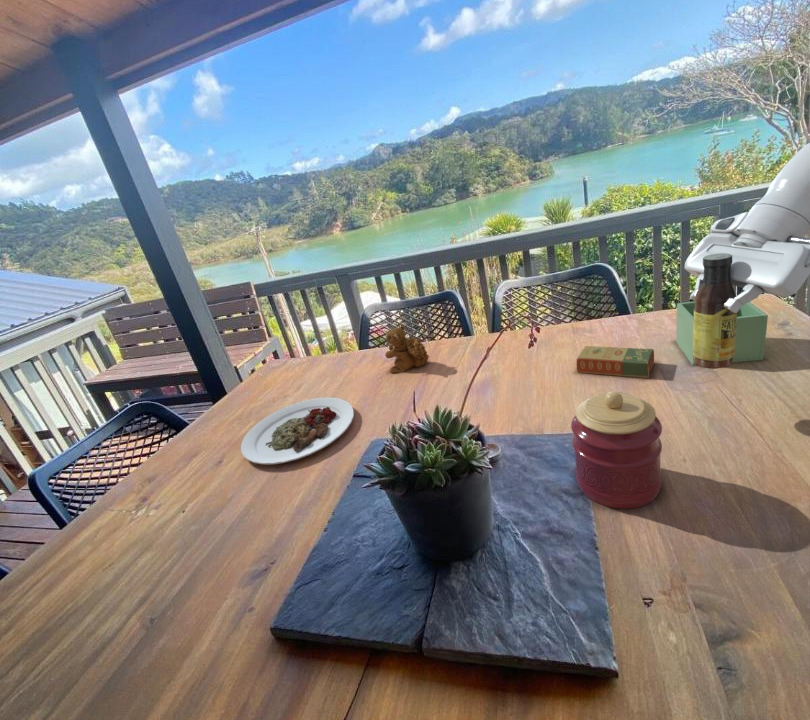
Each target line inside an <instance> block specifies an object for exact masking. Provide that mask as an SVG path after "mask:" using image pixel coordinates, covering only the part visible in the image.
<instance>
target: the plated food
mask: <svg viewBox="0 0 810 720" xmlns="http://www.w3.org/2000/svg"><path fill="white" fill-rule="evenodd" d="M354 417H355V410H354V409H353V406H352V404H351V403H350V402H348V401H347V400H345V399H343V398H338V397H330V396H329V397H327V396H326V397H316V398H310V399H305V400H302V401H297V402H295V403H292V404H288V405H287V406H284V407H282V408H280V409H278V410H276V411H274V412H272V413H270V414H268V415H266V417H265V418H263V419H261V420H260V421H258V422H257V423H256V424H255V425H254V426H253V427H251V428H250V429H249V431H247V433H246V434H245V435H244V437H243V439H242V442H241V443H240V444H241V445H240V451H241V455H242V456H243V457H244V459H246V460H247V461H249V462H251V463H252V464H259V465H278V464H285V463H290V462H293V461H297V460H300V459H302V458H305V457H307V456H310V455H313V454H315V453H316V452H318V451H321V450H322V449H324V448H325V447H327V446H329V445H331V444H332V443H333V442H335V441H336V440H337V439H339V438H340V437H341V436H342V435H343V434H345V432H346V431H347V430H348V428H349V427H350V426H351V424H352V422H353V420H354Z"/></svg>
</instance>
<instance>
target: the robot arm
mask: <svg viewBox="0 0 810 720" xmlns="http://www.w3.org/2000/svg"><path fill="white" fill-rule="evenodd" d="M710 231H711V233H709V234H707V235H706V236H704V237H703V238H702V239H701V240H700V241H699V243H698V244H697V245H696V246H695V247H694V249H693V250H692V251H691V253H690V254H689V255H688V257H687V259H686V260H685V262H684V270H685V271H686V272H688V273H689V274H690V275H692V276H693V277H696V282H695V286H694V287H695V288H694V290H693V291H692V293H691V294H690V295H689V298H690V299H691V300H693V302H694V301H695V296H696V293H697V291H698V289H699V288H700V287H701V286H702V284H703V283H704V282H703V278H704V266H703V258H704V257H705V256H707V255H711V254H718V253H726V254H731V255H732V264H731V270H730V278H731V279H730V281H731V284H732V286H733V287H738V288H742V292H740V293H739V294H738V295H736V297H735V298H734V299H733V298H729V299H728V300H727V302H726V303H725V304H724V306H723V307H724V308H725V309H726V310H727V311H731V312H734V313H737V312H738V311H739V309H740V308H741V307H742V306H743V305H745V304H747V303H748V302H752V301H754V300H756V299H758V297H759V296H760V295H761V294H762V293H763V294H768V295H772V296H777V297H780V298H788V297H791V296H793V295H795V294H796V293H797V292H798V291H799V290H800V289H801V287H803V284H804V283H805V281H806V280H807V278H808V277H809V276H810V142H808V143H807V144H805V145H804V146H802V147H801V148H800V149H799V150H798V151H797V152H796V153H795V154H794V155H793V156H792V157H791V158H790V159H789V161H788V162H787V163H786V164H785V165H784V166H783V167H782V169H780V171H779V172H778V173H777V175H776V176H775V177H774V179H773V180H772V181H771V182H770V184H769V185H768V188H767V190H766V192H765V194H764V196H763V197H761V199H759V200H758V201H756V202H755V203H754V204H753V205H752V207H751V208H750V209H749V211H745V212H742V213H739V214H736V215H733V216H729V217H724V218H721V219H718V220H716V221H715V222H713V224H712V225H711V226H710Z"/></svg>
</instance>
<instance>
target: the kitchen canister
mask: <svg viewBox="0 0 810 720" xmlns="http://www.w3.org/2000/svg"><path fill="white" fill-rule="evenodd" d="M570 424H571V425H570V427H571V431H572V433H573V438H572V447H573V449H574V460H575V461H574V462H575V467H574V468H575V469H574V473H575V479H576V482H577V484H578V488H579V489H580V491H581V492H582V493H583V494H584V495H585V496H586V497H587V498H588V499H590V500H591V501H594V502H595V503H597V504H599V505H601V506H604V507H609V508H613V509H621V510H624V509H626V510H628V509H635V508H640V507H644V506H646V505H648V504H650V503H652V502H653V501H654V500H655V499H656V498H657V497H658V496H659V494H660V490H661V487H662V482H663V480H662V476H663V475H662V472H661V453H662V450H663V444H662V441H661V438H660V437H661V435H662V432H663V425H662V423H661V421H660V419H659V418H658V417H657V414H656V410H655V408H654V407H653V406H652V405H651V404H650V403H649V402H648V401H646V400H644V399H643V398H639V397H637V396H635V395H633V394H629V393H625V392H618V391H613V390H612V391H608V392H603V393H598V394H595V395H593V396H591V397H589V398H587V399H585V400H583V401H581V402H580V403H579V404H578V405H577V407H576V409H575V414H574V416H573V418H572V420H571V423H570Z"/></svg>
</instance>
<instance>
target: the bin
mask: <svg viewBox="0 0 810 720" xmlns="http://www.w3.org/2000/svg"><path fill="white" fill-rule="evenodd" d="M694 308H695V301H694V300H693V301H686V302H677V303H676V331H675V332H676V335H675V338H676V339H675V343H676V344H677V345H678V347H679V348H680V350H681V351H682V353H683V354H684V355H685V357H686V358H687V359H688V361H689V362H690V364H691V365H692V366H697V365H696V364H695V363H694V361H693V360H694V359H693V357H694V355H693V324H694ZM768 318H769V315H768V314H767V313H766V312H765V311H763V310H761V309H760V308H759V307H758V306H756V305H755V304H753V303H752V301H750V302H748V303H747V304H745V305H743V306H742V307H741V308H740V309H739V311H738V312H737V323H736V337H735V352H734V357H733V361H732V363H740V362H749V361H750V362H751V361H753V362H754V361H763V360H764V359H765V357H764V356H765V348H766V338H767V327H768V320H769V319H768Z"/></svg>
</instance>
